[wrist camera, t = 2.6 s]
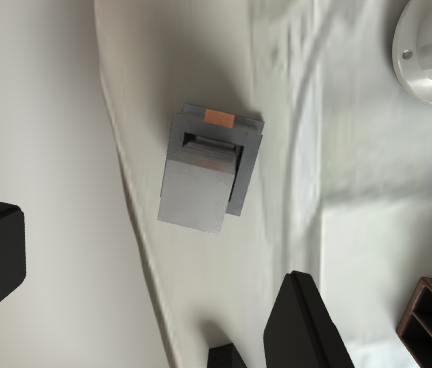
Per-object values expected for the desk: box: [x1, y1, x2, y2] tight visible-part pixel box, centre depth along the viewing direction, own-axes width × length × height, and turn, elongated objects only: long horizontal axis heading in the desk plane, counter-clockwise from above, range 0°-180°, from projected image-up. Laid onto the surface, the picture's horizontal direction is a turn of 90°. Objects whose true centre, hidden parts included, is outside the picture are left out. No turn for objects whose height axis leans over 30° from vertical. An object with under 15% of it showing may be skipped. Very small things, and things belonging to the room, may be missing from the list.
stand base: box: [160, 103, 265, 216], centre depth 25 cm, size 9×9×8 cm
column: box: [157, 135, 237, 235], centre depth 21 cm, size 4×4×14 cm
